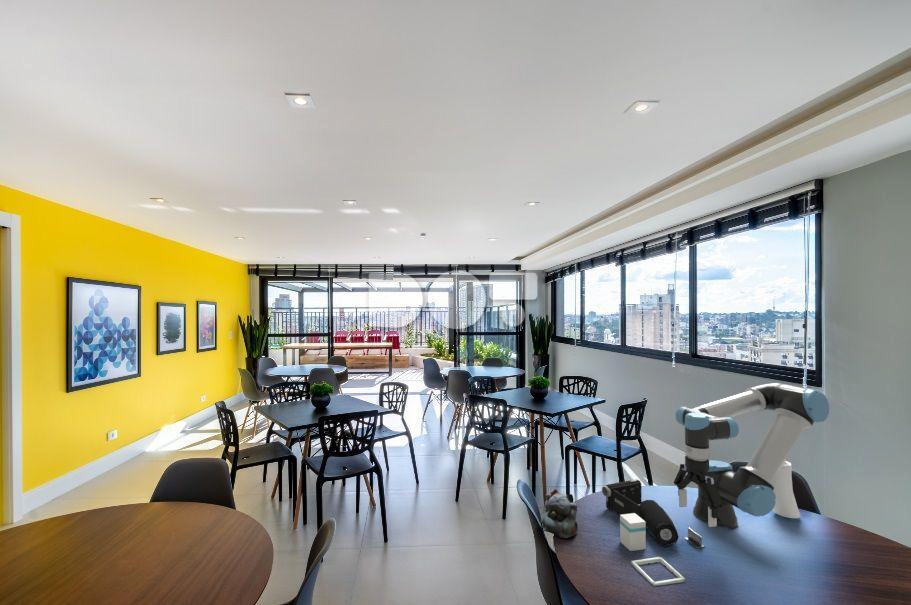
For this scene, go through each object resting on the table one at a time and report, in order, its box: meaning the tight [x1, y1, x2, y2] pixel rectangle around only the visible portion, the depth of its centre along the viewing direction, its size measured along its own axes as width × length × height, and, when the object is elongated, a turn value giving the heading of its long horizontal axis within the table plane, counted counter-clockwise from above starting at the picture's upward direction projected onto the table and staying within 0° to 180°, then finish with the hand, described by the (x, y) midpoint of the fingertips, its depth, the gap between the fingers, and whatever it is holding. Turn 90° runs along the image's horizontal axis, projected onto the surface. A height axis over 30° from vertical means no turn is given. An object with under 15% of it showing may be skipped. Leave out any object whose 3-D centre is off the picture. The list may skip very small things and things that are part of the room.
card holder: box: [684, 527, 706, 549], centre depth 146 cm, size 3×6×4 cm, turn 11°
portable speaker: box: [639, 499, 679, 547], centre depth 153 cm, size 9×9×20 cm
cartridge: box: [619, 513, 647, 552], centre depth 144 cm, size 6×6×10 cm
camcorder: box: [601, 479, 642, 519], centre depth 166 cm, size 20×18×10 cm
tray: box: [630, 556, 686, 587], centre depth 129 cm, size 11×11×2 cm
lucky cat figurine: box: [540, 488, 579, 539], centre depth 155 cm, size 15×12×14 cm
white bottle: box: [772, 460, 802, 519], centre depth 167 cm, size 12×11×25 cm
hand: (697, 516), depth 146 cm, fingers open, 13 cm apart
